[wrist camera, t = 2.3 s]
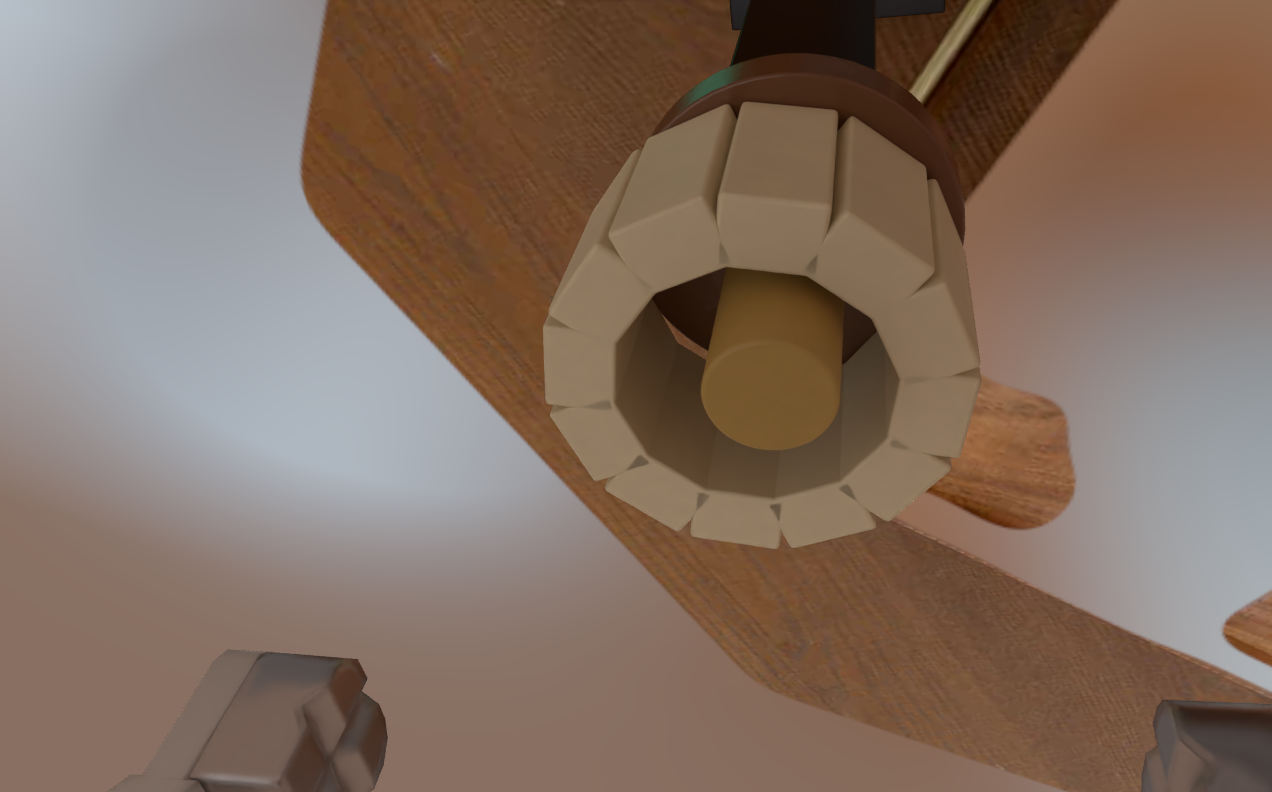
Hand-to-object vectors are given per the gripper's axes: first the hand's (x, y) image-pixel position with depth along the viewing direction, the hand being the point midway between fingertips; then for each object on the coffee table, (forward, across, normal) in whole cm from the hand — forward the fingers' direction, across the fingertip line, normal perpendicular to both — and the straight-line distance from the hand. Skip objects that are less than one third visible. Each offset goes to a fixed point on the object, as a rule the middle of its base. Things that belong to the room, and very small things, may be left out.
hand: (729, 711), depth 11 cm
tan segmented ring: (+10, 0, +1) cm, 10 cm away
